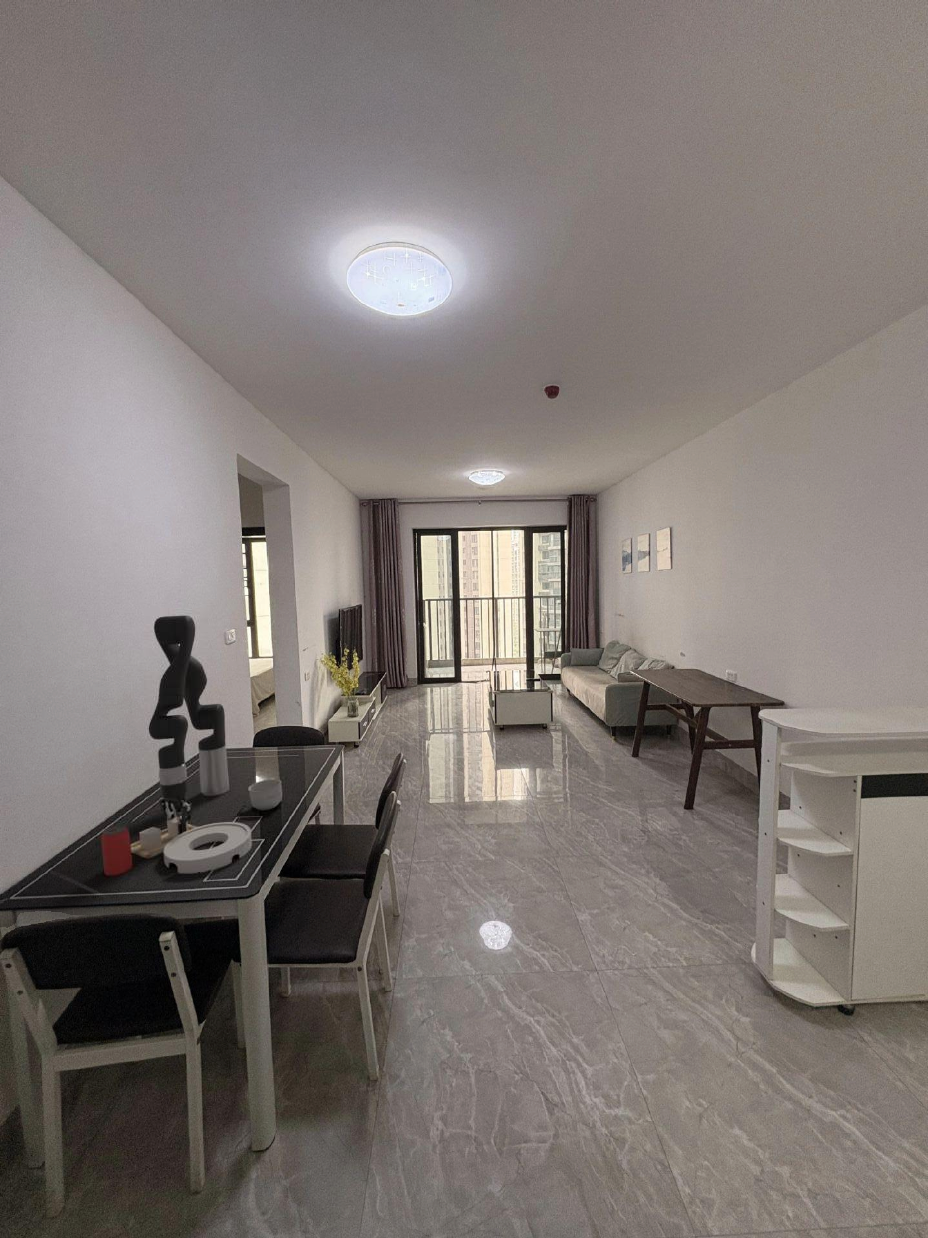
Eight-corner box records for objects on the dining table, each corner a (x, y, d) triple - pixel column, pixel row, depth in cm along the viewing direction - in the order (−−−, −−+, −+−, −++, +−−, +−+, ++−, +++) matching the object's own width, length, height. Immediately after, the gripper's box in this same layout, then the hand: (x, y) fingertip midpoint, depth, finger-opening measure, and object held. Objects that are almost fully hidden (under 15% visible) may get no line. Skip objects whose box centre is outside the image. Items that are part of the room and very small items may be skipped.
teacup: (272, 814, 185) (270, 791, 184) (243, 812, 187) (241, 790, 186) (293, 797, 198) (291, 775, 198) (266, 796, 200) (264, 775, 200)
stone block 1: (140, 848, 163) (139, 832, 162) (154, 842, 166) (152, 826, 166) (148, 851, 161) (147, 835, 160) (161, 845, 164) (160, 829, 164)
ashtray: (155, 881, 146) (153, 867, 146) (174, 842, 168) (173, 829, 168) (248, 865, 152) (247, 851, 152) (255, 829, 175) (254, 817, 174)
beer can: (113, 865, 155) (108, 824, 154) (137, 863, 155) (133, 822, 154) (99, 878, 148) (95, 835, 147) (125, 876, 149) (120, 833, 148)
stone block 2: (168, 836, 170) (167, 820, 170) (180, 830, 174) (179, 815, 173) (176, 839, 168) (174, 823, 168) (188, 833, 172) (187, 817, 171)
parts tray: (124, 851, 163) (124, 847, 163) (182, 826, 178) (181, 822, 178) (148, 860, 157) (147, 856, 157) (205, 833, 172) (204, 829, 172)
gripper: (148, 780, 170) (153, 833, 171) (175, 787, 163) (180, 843, 164) (171, 772, 176) (176, 823, 178) (199, 778, 169) (203, 832, 171)
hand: (178, 832), depth 171 cm, fingers closed on stone block 2, 4 cm apart
